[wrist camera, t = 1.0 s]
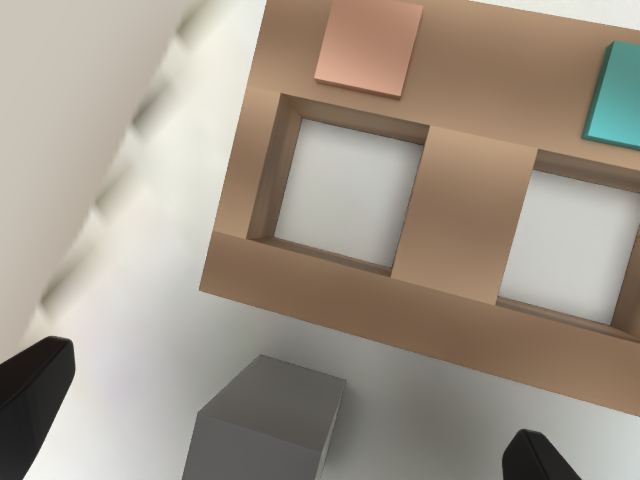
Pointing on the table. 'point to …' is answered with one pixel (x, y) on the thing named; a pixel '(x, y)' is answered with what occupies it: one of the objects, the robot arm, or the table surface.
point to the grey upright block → (266, 425)
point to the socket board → (439, 178)
